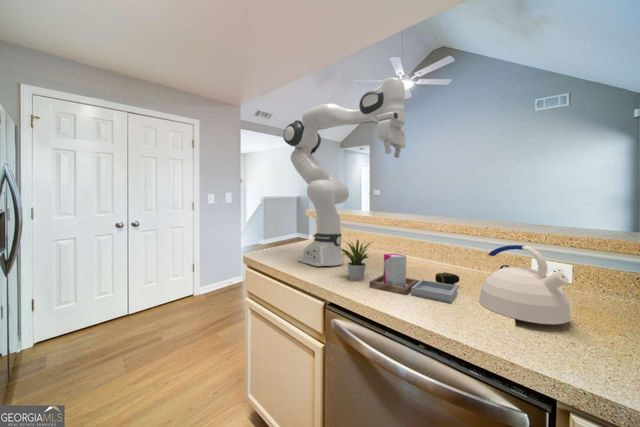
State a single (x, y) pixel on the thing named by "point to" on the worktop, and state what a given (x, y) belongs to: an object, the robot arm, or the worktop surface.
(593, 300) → the worktop surface
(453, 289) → the grey tray
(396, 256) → the supplement box
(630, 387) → the worktop surface
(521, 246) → the kettle
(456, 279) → the tape measure
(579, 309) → the worktop surface
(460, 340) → the worktop surface
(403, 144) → the robot arm
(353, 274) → the house plant
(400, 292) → the brown square frame
